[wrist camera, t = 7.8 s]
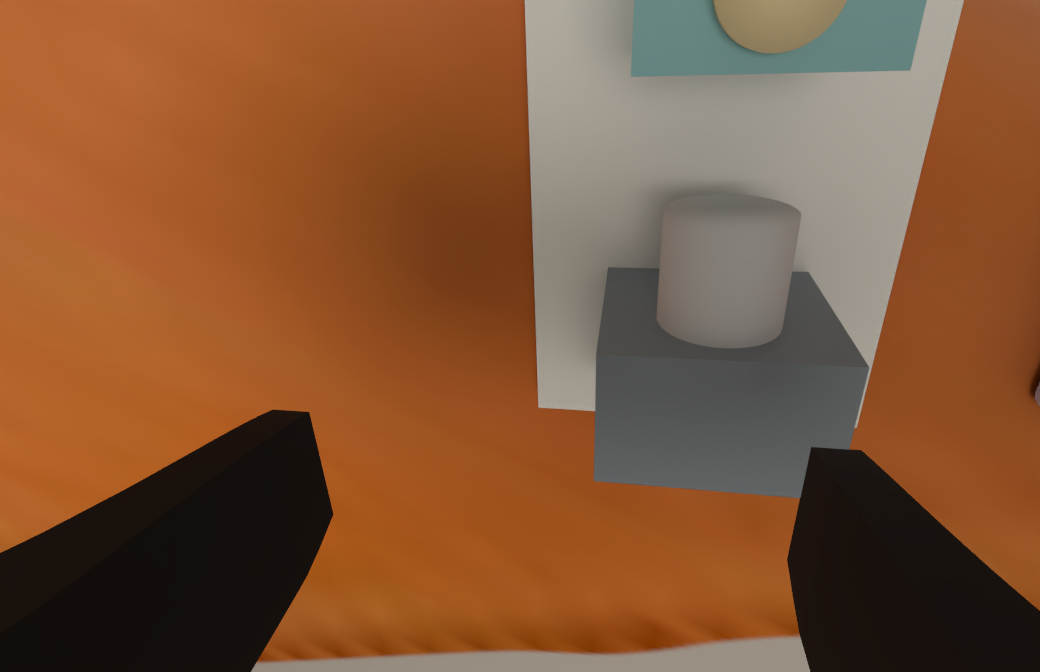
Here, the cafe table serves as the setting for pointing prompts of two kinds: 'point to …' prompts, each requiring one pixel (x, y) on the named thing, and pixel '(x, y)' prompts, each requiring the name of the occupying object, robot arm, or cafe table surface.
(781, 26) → the teal block
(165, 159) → the cafe table surface
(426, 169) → the cafe table surface
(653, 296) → the shaft stand
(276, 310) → the cafe table surface
